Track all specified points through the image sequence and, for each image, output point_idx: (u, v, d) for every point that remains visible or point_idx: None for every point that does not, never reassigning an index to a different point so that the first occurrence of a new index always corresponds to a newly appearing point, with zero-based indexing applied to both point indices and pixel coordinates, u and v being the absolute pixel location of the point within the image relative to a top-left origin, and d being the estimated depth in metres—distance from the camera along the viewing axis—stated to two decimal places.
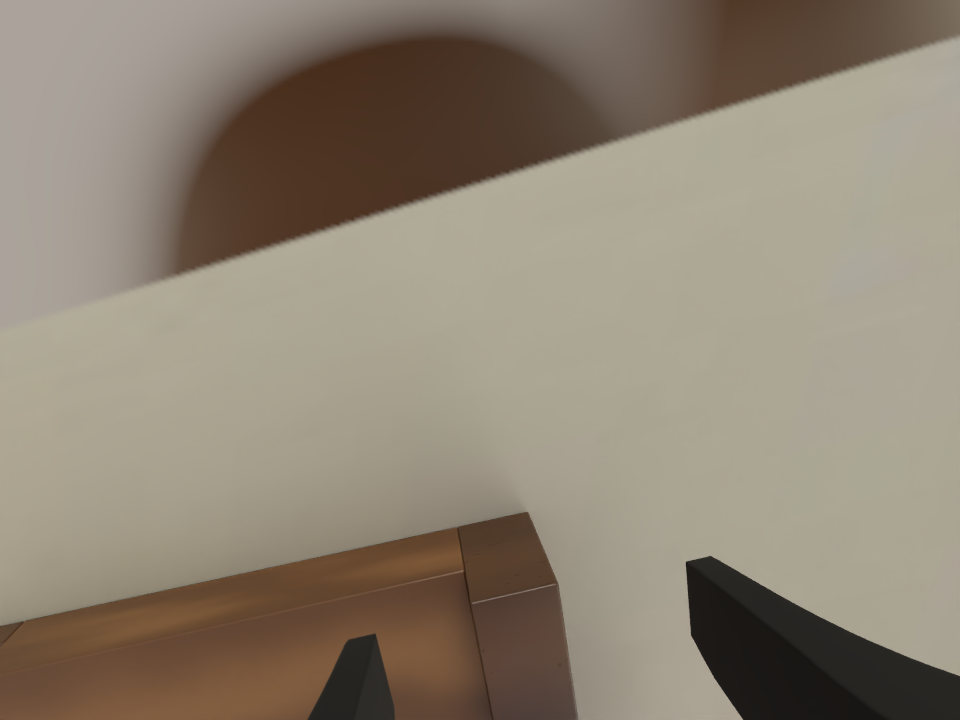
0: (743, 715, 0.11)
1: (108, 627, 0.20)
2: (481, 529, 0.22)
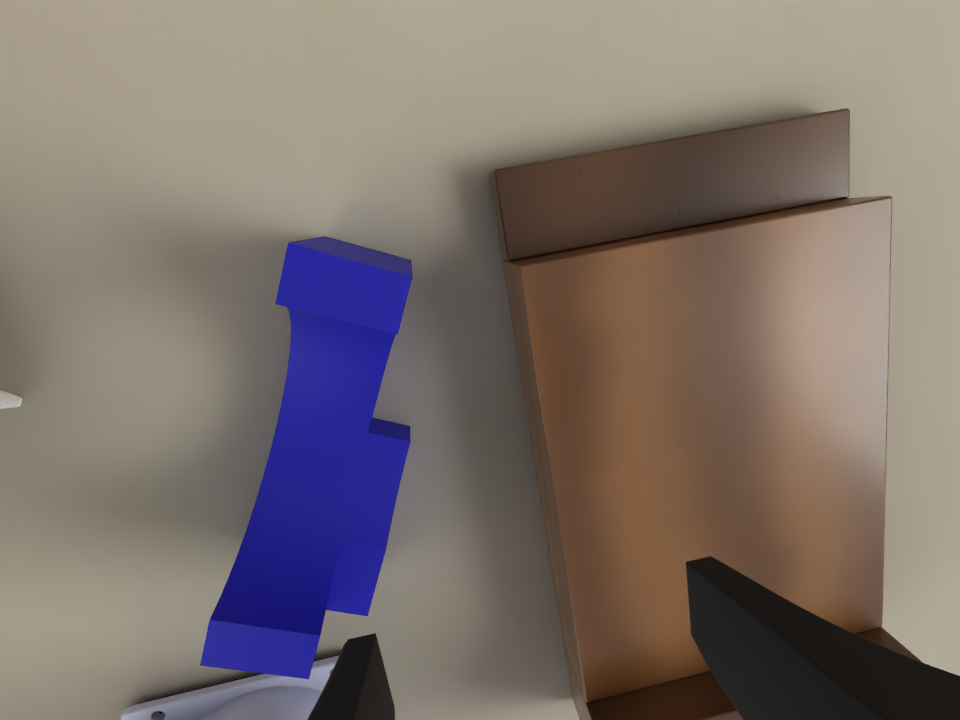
0: (743, 715, 0.11)
1: None
2: None
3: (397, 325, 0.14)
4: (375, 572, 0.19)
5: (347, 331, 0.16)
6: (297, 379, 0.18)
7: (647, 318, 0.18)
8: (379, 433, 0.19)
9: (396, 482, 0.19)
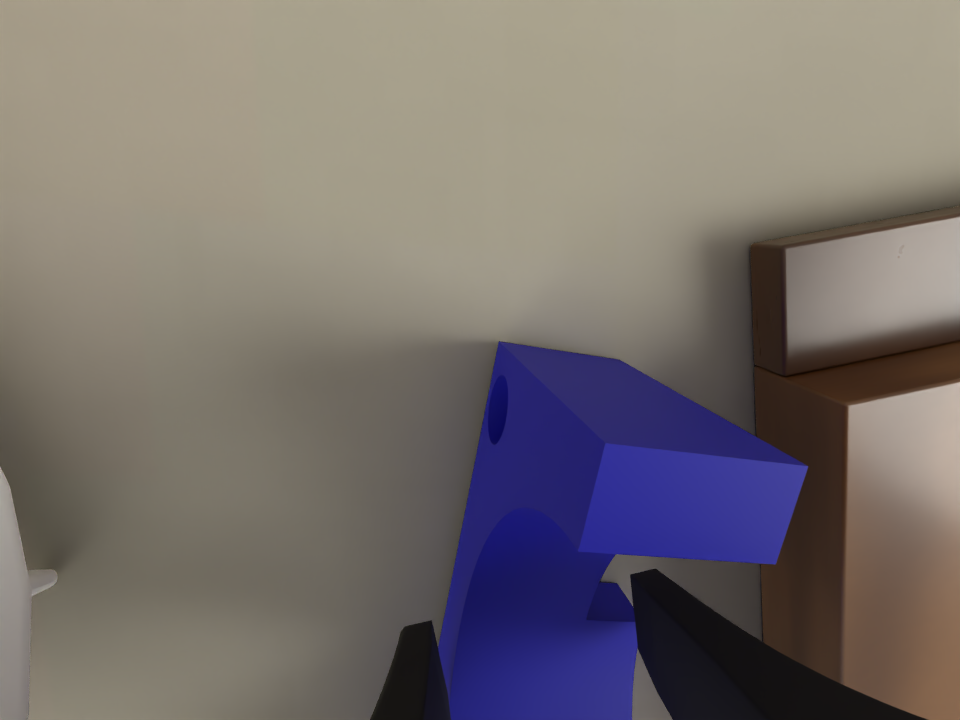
0: None
1: None
2: None
3: (778, 551, 0.08)
4: None
5: None
6: (491, 568, 0.12)
7: None
8: (598, 616, 0.13)
9: (629, 682, 0.13)
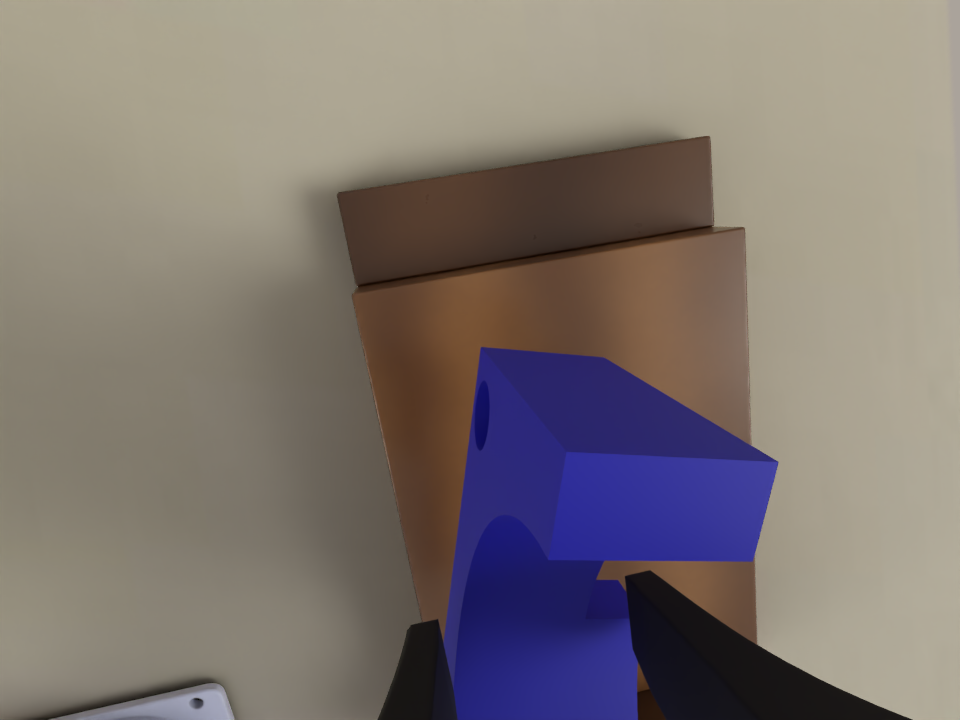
0: None
1: None
2: None
3: (754, 548, 0.08)
4: None
5: None
6: (485, 573, 0.12)
7: None
8: (598, 615, 0.13)
9: (632, 679, 0.13)
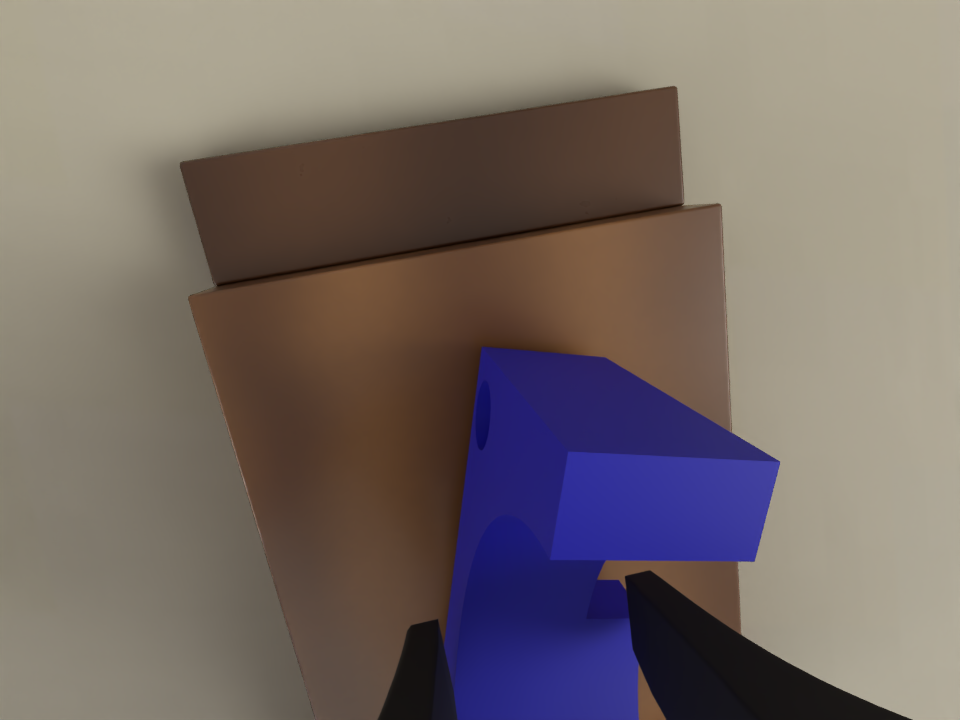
0: None
1: None
2: None
3: (756, 548, 0.08)
4: None
5: None
6: (486, 573, 0.12)
7: (385, 366, 0.13)
8: (599, 615, 0.13)
9: (633, 679, 0.13)
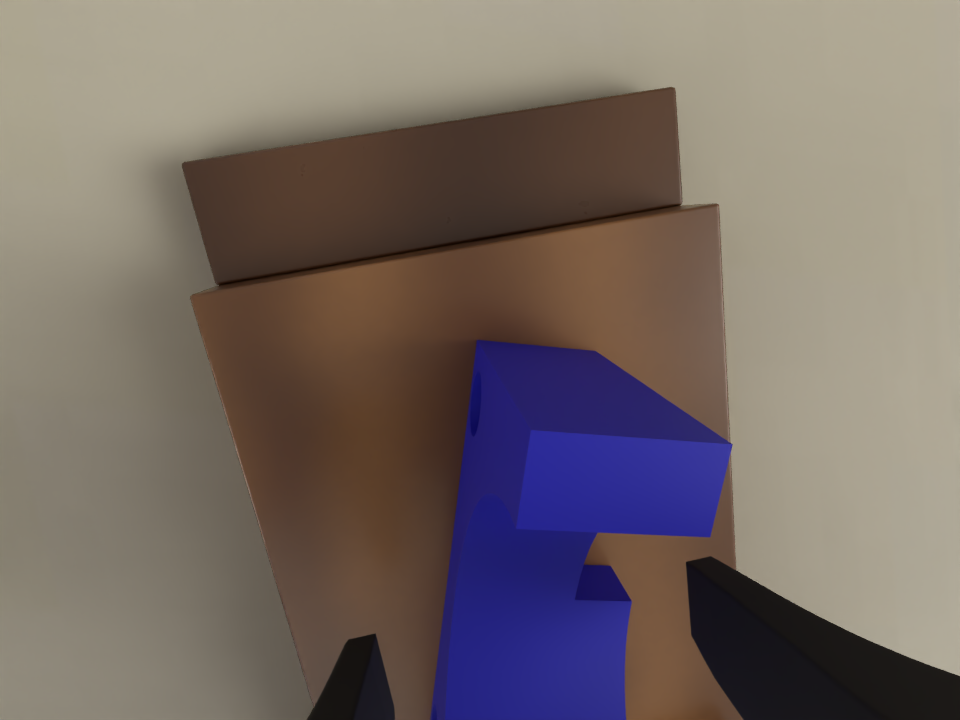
0: (744, 716, 0.11)
1: None
2: None
3: (711, 524, 0.08)
4: None
5: None
6: (478, 552, 0.13)
7: (385, 365, 0.13)
8: (587, 597, 0.14)
9: (620, 659, 0.14)
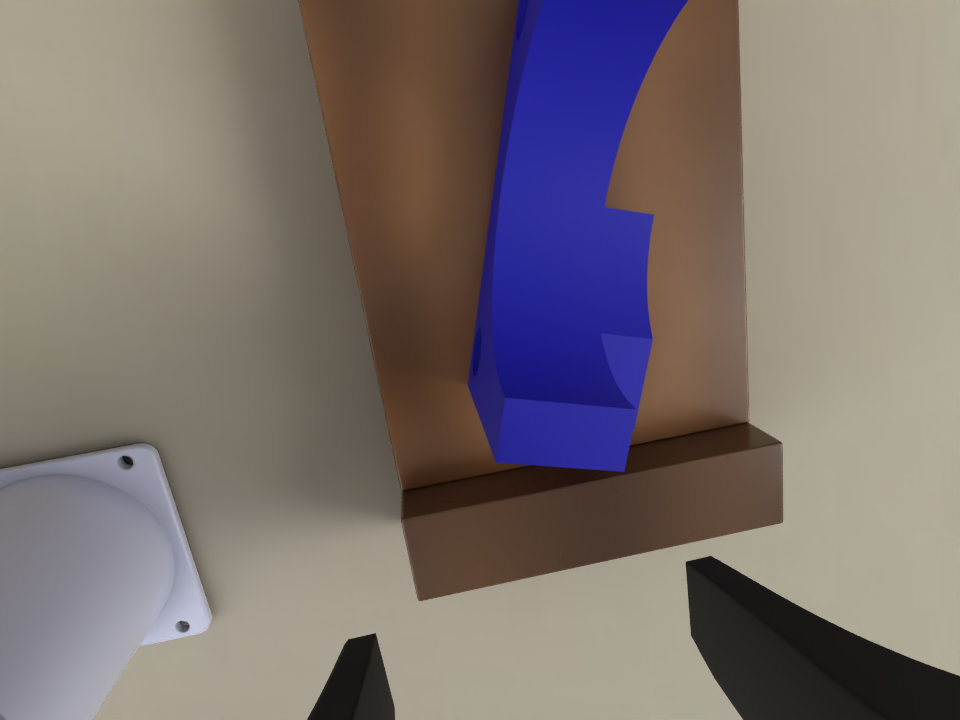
0: (743, 715, 0.11)
1: None
2: None
3: None
4: (641, 371, 0.15)
5: (608, 30, 0.13)
6: (522, 140, 0.15)
7: None
8: (615, 209, 0.16)
9: (644, 266, 0.16)
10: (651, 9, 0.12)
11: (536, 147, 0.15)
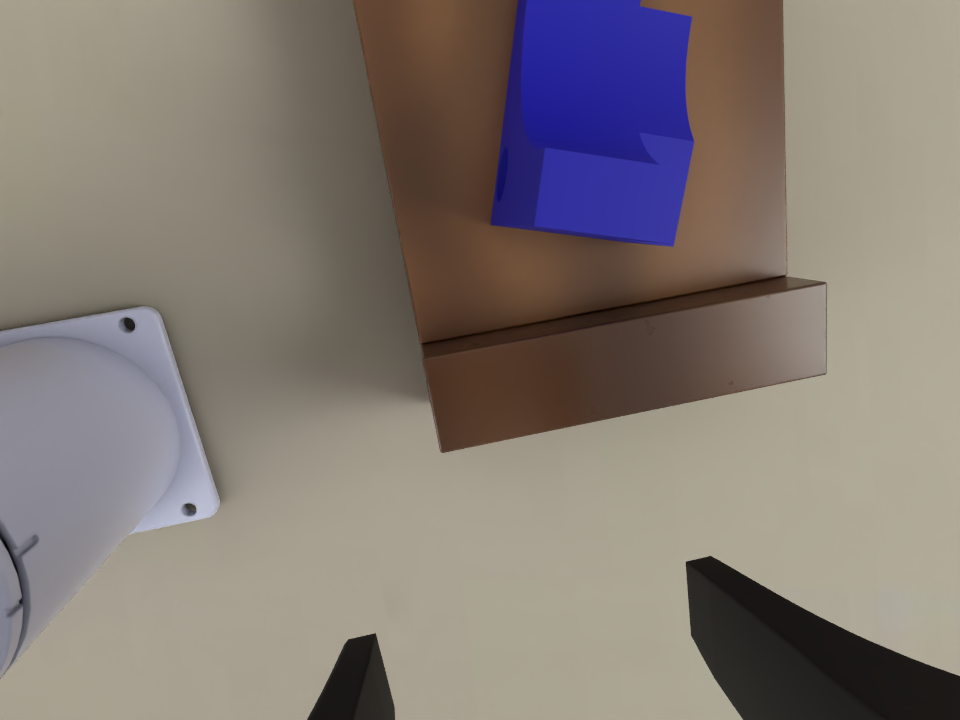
0: (744, 716, 0.11)
1: None
2: None
3: None
4: None
5: None
6: None
7: None
8: (651, 10, 0.15)
9: (681, 73, 0.15)
10: None
11: None
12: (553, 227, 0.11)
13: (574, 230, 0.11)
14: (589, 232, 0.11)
